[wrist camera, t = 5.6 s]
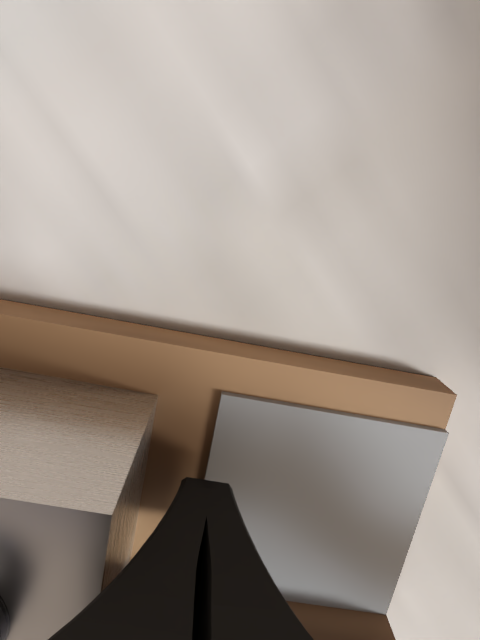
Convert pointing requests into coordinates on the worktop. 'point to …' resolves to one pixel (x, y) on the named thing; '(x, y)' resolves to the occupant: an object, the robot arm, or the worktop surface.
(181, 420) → the rail
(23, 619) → the metal cube with knob
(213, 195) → the worktop surface
